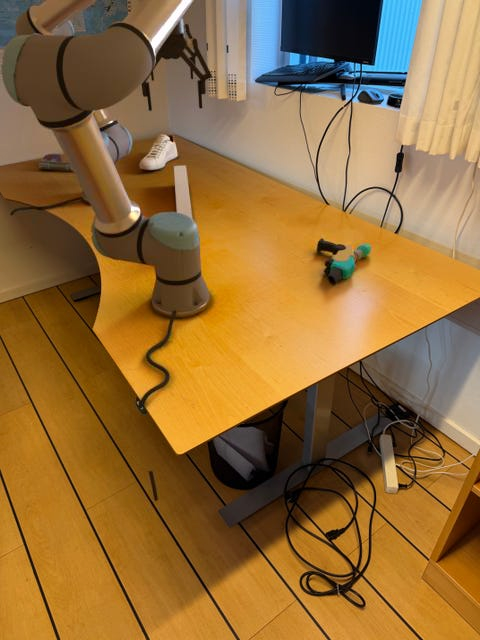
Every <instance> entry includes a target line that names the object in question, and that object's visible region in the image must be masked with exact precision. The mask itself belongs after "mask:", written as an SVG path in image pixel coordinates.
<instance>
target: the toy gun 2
mask: <svg viewBox="0 0 480 640" xmlns="http://www.w3.org/2000/svg"><path fill="white" fill-rule="evenodd" d="M371 251H372V246H371V245H370V244H367V243H366V244H365V243H362V244H359V245H358V246H357V247H356V249H354V247H353V246H352V245H346V244H341V243H338V244H337V243H335V242H332V241H327V240H325V239H324V238H322V237H320V239H319V240H318V241H317V245H316V252H317V253H321V252H328V253H331V254H332V256H331V257H329V258H327V259H326V260H325V262H324V266H325V268H324V269H323V273H324V274H325V275H326V276H327V278H326V280H327V281H328V283H329V284H330V285H332V286H337V284H338V282H340V281H341V279H343V280H347V279H349V278H351V277H352V276H353V274H354V273H355V271H356V263H355V262H358V261H359V260H361V259H362V258H367V257H368V256H369V255H370V254H371Z"/></svg>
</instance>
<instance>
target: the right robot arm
mask: <svg viewBox="0 0 480 640" xmlns="http://www.w3.org/2000/svg"><path fill="white" fill-rule="evenodd" d="M194 1H195V0H139V1H138V2H137V3H136V4H135V5H134V7H132V9H131V10H130V12H129V13H128V14H127V15H126V16H125V17H124V18H123V20H122V21H116V22H113V23H112V24H111V25H110V26H109V27H108V28H107V29H106V30H105V31H103V32H101V33H97V34H91V35H74V36H61V35H41V34H38V33H34V34H31V35H20V36H17V35H16V36H15V37H13V38H12V39H10V40H9V42H8V43H7V45H6V46H5V48H4V51H3V53H2V57H1V59H2V63H1V70H0V71H1V77H2V82H3V85H4V88H5V90H6V92H7V94H8V95H9V97H10V98H11V99H12V101H14V102H15V103H16V104H20V106H23V107H30V109H31V110H32V112H33V114H34V116H35V118H36V120H37V122H38V124H39V125H40V126H41V127H42V128H44V129H48V130H50V131H52V133H53V135H54V137H55V139H56V141H57V143H58V145H59V147H60V149H61V151H62V152H63V155H64V156H65V158H66V160H67V162H69V164H70V166H71V168H72V170H73V171H72V172H73V173H74V176H75V177H76V180H77V181H78V184H79V185H80V187H81V189H82V192H83V191H84V193H85V195H86V197H87V199H88V201H89V203H90V204H89V205H90V206H91V209H92V210H93V212H94V216H93V219H92V223H91V227H90V233H91V234H92V235H91V241H92V244H93V246H94V249H95V250H96V251H97V252H98V253H99V254H100V255H101V256H103V257H105V258H109V259H111V260H114V261H122V262H126V263H127V262H128V263H134V264H138V265H139V264H140V265H145V266H150V267H153V268H154V274H155V275H154V276H155V281H154V284H153V290H152V294H151V305H152V308H153V310H154V311H155V312H156V313H157V314H159V315H160V316H163V317H167V318H170V319H169V323H168V327H167V333H166V334H165V337H164V338H163V339H162V340H161V341H160V342H158V343H156V344H155V345H153V346H152V347H150V348H149V349H148V350H147V352H146V355H145V359H146V361H147V363H148V364H149V365H151V366H152V367H154V368H156V369H157V370H159V371H161V372H162V373H164V375H165V379H164V380H163V381H162V382H160V383H159V384H156V385H155V386H153V387H151V388H150V389H149V390H147V391H146V392H145V393H144V395H143V396H142V397H141V400H140V402H139V406H138V407H139V408H140V409H142V408H144V406H145V403H146V401H147V399H148V398H149V397H150V396H151V395H152V394H153V393H155V392H156V391H159V390H161V389H162V388H164V387H165V386H166V385H168V383H169V381H170V379H171V376H170V372H169V370H168V369H167V368H166V367H164V366H162V365H161V364H159V363H157V362H155V361H154V360H152V358H151V354H152V353H153V352H154V351H155V350H157V349H159V348H161V347H162V346H164V345H165V344H166V343H167V342H168V340H169V339H170V337H171V333H172V331H173V330H172V329H173V325H174V321H175V319H183V318H185V319H186V318H190V317H194V316H196V315H199V314H201V313H202V312H204V311H205V310H207V308H208V307H209V306H210V303H211V292H210V290H209V288H208V286H207V284H206V281H205V278H204V277H203V275H202V262H201V261H202V259H201V238H200V233H199V228H198V224H197V223H196V222H195V220H194V219H193V217H192V218H190V217H189V216H187V215H184V214H181V213H177V211H168V212H166V211H161V212H158V213H154V214H153V215H152V216H150V217H147V216H144V215H143V213H142V210H141V208H140V206H139V204H138V203H137V202H135V201H134V200H132V199H130V198H129V196H128V193H127V191H126V188H125V187H124V184H123V182H122V179H121V176H120V175H119V173H118V170H117V168H116V165H115V163H113V160H112V158H111V156H110V153H109V151H108V149H107V146H106V144H105V142H104V139H103V137H102V135H101V132H100V130H99V128H98V125H97V123H96V121H95V118H94V116H93V113H94V111H95V110H101V109H105V108H106V109H108V108H110V107H113V106H114V105H116V104H118V103H120V102H121V101H124V99H126V98H127V97H128V96H130V95H131V94H132V93H133V92H135V91H136V90H137V89H138V88H139V87H140V86H141V90H142V96H143V98H145V97H146V98H147V106H148V111H149V112H152V111H153V107H152V97H151V89H150V88H151V87H150V82H149V81H148V79H149V78H150V77H151V73H152V72H153V73H154V70H155V68H156V67H157V65H158V64H159V62H160V61H161V59H163V60H170V59H172V60H178V59H180V58H181V59H182V60H183V61H184V63H186V65H187V66H188V67H189V69H190V68H191V69H192V70H193V74H194V75H196V77H197V78H198V80H197V96H198V108H199V109H203V95H206V81H207V80H209V79H211V78H212V77H213V76H212V73H211V71H210V68H209V67H208V64H207V63H206V61H205V58H204V57H203V55H202V53H201V51H200V49H199V43H198V39H197V38H196V37H193V38H192V39H189V38H187V39H186V36H185V32H184V24H185V23H184V18H183V17H184V15H185V13H186V12H187V11H188V9H189V7H190V6H191V5H192V3H194ZM187 45H188V46H189V48H190V49H191V50H192V49H193V52H195V53H196V55H197V56H196V57H197V60H198V61H199V63H200V66H201V67H202V69H203V71H204V74H203V73H202V71H200V69H199V68H198V67H197V65H196V66H195V65H194V63H193V62H192V61H191V60H190V59H189V57H190V56H188V55H187V54H186V52H185V50H186V49H185V47H186V46H187ZM148 476H149V480H150V484H151V490H152V496H153V500H154V502H157V501H158V500H159V497H158V490H157V485H156V480H155V476H154V472H153V470H148Z"/></svg>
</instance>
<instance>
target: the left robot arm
mask: <svg viewBox="0 0 480 640" xmlns="http://www.w3.org/2000/svg"><path fill="white" fill-rule="evenodd" d="M97 1H98V0H45V1H44V2H42V3H41V4H40V5H32V6H30V7H29V8H27V9H26V10H25V11H23V12H22V13H20V15H18V17H17V18H16V19H17V20H16V21H15V32H16V33H15V34H16V37H17V36H20V35H31V34H34V33H38V34H41V35H61V36H75V28H74V26H73V23H72V21H71V20H72V19H73V18H74V17H76V16H77V15H79V14H80V13H82V12H84V11H85V10H86V9H87V8H89V7H90V6H91V5H93V4H94V3H96V2H97ZM184 33H186V35H187V38H188V39H192V38H194V37H193V35H192V33H191V31H190V25H189V24H188V23H187V22H185V23H184ZM184 50H186V52H188V54H189V55H190V56H188V57H189V59H190V60H191V61H192V62H193V63H194V65H195V66H196V67H197V64H196V63H197V62H196V57H197V55H196V53H195V51H194V50H192V48H190V46H189V45H187V46H186V47H185V49H184ZM189 71H190V79H191V80H194V72H193V70H192V69H191V68H190V67H189ZM154 75H155V74H154V71H153V72H152V73H151V75H150V79H151V81H152V82H153V81H155V76H154ZM107 109H108V108H105V109H101V110H95V111H94V113H93V116H94V118H95V121H96V123H97V125H98V128H99V130H100V132H101V135H102V137H103V139H104V142H105V144H106V146H107V149H108V151H109V153H110V156H111V158H112V160H113V163H114V164H115V163H117V162H118V161H120V160H122V159H124V158H126V157H127V155H128V154H130V152H131V151H132V148H133V138H132V135H131V133H130V131H129V130H128V129H127V128H126V127H123V126H122V125H120V123H119V121H118V120H117V119H116V118H115V117H112V116H111V115H110V114H109V113H110V112H109V111H108V110H107ZM80 200H82V201H83V202H84V203H85V204H87V205H88V204H89V205H90V203H89V201H88V199H87V197H86V195H85V193H84V191H83V190H82V192H81V196H78V197H75V198H71V199H68V200H64V201H61V202H57V203H53V204H49V205H43V206H39V205H38V206H36V205H35V206H25V207H24V206H23V207H17V208H14V209H13V210H12V211H11V212H10V214H9V215H10V216H13V215H14V214H15V213H16V212H18V211H26V210H27V211H28V210H45V209H51V208H55V207H60V206H63V205H66V204H69V203H73V202H76V201H80Z"/></svg>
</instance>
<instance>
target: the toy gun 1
mask: <svg viewBox="0 0 480 640" xmlns="http://www.w3.org/2000/svg"><path fill="white" fill-rule="evenodd" d="M62 160H63V157H62V155H61V153H48V154H46V155H44V156H43V158H42V160H39V163H38V164H37V167H38V169H39V170H44V171H45V170H46V171H47V170H49V171H64V172H73V170H72V168H71V166H70V164H69V162H68V161H62Z"/></svg>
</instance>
